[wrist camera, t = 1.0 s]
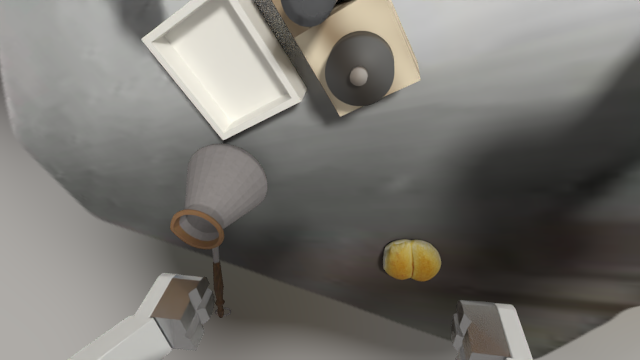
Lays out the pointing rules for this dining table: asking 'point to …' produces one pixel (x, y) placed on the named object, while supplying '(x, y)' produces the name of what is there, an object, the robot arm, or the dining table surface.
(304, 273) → the dining table surface
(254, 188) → the coffee pot
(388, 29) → the plate
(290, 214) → the dining table surface
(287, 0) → the pin
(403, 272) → the bread roll
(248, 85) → the tray
